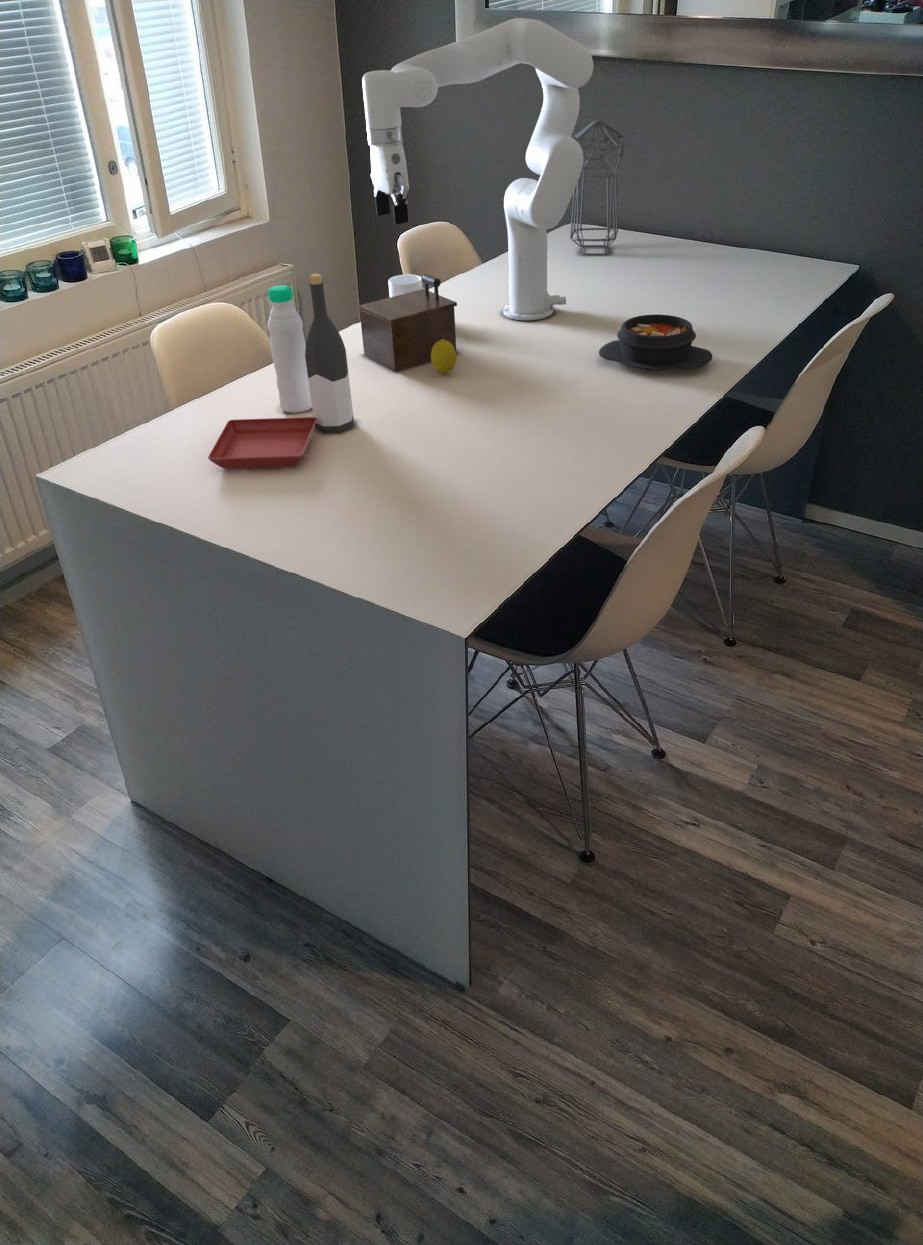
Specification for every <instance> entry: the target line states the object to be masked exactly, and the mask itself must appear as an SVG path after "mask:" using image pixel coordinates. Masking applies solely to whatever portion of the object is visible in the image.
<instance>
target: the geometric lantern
mask: <svg viewBox="0 0 923 1245" xmlns="http://www.w3.org/2000/svg"><path fill="white" fill-rule="evenodd" d="M599 130H600V132H601V134H602V138H603V139H601V140H600V139H599V138H600V137H599ZM590 131H591V134H590V137H589V138H588V137H586V136H587V134H589V132H590ZM606 135H607V136H608V137H607V136H606ZM593 137H594V138H593ZM571 138H573V139H575V140H576V141H577V142H578V143H579V144H580V143H582V144H583V145H585V146H581V148H582V150H586V152H587V156H586V155H585V154H584V153H583V159H585V162H583V167H582V175H581V174H580V177H579V179H578V182H577V184H576V187H575V189H574V192H573V194H572V197H573V198H572V207H571V208H572V209H571V220H570V235H569V240H570V241H572V242H573V243H575V244H576V245H577V246H578V247H579V255H582V256H607V255H609V254H610V246H611V245H612V244H613V243H614V241H616V239H617V237H618V234H619V233H618V232H619V215H618V214H619V212H618V174H617V173H618V168H619V166H620V163H621V159H622V157H623V156H624V155H623V154H624V152H625V148H626V145H625V139H626V136H624V135H623V134H621V133H620V132H619V131H617V130H615V128H613V127H611V126H610V125H609V124H606V123H605V122H604V121H603V120H600V119H596V120H595V119H594V121H592V122H590V123H589V124H588V125H587V126H585V127H584V128H582V130H580V131H579V132H578V133H576V134H575V135H573V136H571ZM620 138H621V139H620ZM609 140H611V141H610V143H609V144H608V141H609ZM585 141H588V143H587V142H585ZM592 142H595V146H592V145H591V144H592ZM600 143H605V144H604V147H600ZM613 144H614V145H613ZM618 148H619V151H618V154H617V155H616V158H615V161H614V164H613V165H612V164H611V163H610V161H609V158H608V157H607V155H609V154H610V153H612V152H614V151H615V150H616V149H617V150H618ZM590 150H592V152H591V154H590ZM606 150H608V151H606ZM596 151H597V157H593V156H594V153H595V152H596ZM600 152H602V153H603V154H601V155H600ZM603 157H605V160H606V161H607V163H608V165H609V166H606V165H605V163H604V161H603V159H602V158H603ZM597 160H599V161H600V163H601V166H602V167H601V166H599V167H597V166H596V167H587V166H588V165H589V163H590V162H591V161H592V162H593V161H597ZM616 163H617V164H616ZM608 169H610V170H611V173H609V171H608ZM586 170H604V171H605V173H606V175H600V174H599V175H588V174H587V175H586ZM580 178H582V183H581V184H582V185H581V186H582V187H581V202H580V180H581V179H580ZM585 178H606V226H607V227H582V226H583V214H584V195H585V181H586V179H585ZM610 178H611V180H610ZM610 182H611V183H610ZM612 226H613V227H612ZM579 231H580V236H581V237H580V236H579ZM583 231H607V233H606V237H605V238H584V234H583ZM612 231H613V234H612V235H611V236H610V233H611V232H612ZM574 234H575V235H576V238H574ZM585 242H603V244H585ZM587 248H588V249H589V248H593V249H594V248H600V249H601V248H603V249H604V253H585V249H587Z"/></svg>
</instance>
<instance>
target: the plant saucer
mask: <svg viewBox="0 0 923 1245" xmlns="http://www.w3.org/2000/svg"><path fill="white" fill-rule="evenodd" d="M316 421H317V418H316V417H314V416H308V417H307V416H305V417H276V418H275V417H271V418H270V417H269V418H244V419H229V420H227V421H226V424H225V426H224V427H223V429H222V430H221V433H220V435H219V436H218V438H217V440H216V441H215V443H214V445H213V447H212V449H211V450H210V453H209V454H208V456H207V459H208V460H209V461H210V462H211V463H213V464H214V465H216V466H218V467H220V468H222V469H250V468H251V469H252V468H253V469H257V468H288V467H297V466H298V465H299V464H300V463H301V461H302V460H303V457H304V455H305V453H306V450H307V447H308V444H309V442H310V439H311V436H312V434H313V431H314V429H315V424H316Z"/></svg>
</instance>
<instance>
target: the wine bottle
mask: <svg viewBox="0 0 923 1245" xmlns="http://www.w3.org/2000/svg"><path fill="white" fill-rule="evenodd" d="M309 279H310V282H309V288H310V295H311V302H312V309H313V319H312V322H311V326H310V328H309V331H308V334H307V337H306V341H305V344H306V349H305V360H306V367H307V374H308V381H309V388H310V395H311V402H312V407H311V408H312V415H313V416H312V417H316V418H317V421H316V424H315V426H314V429H315V430H317V431H319V432H320V433H322V434H341V433H344V432H347V431H348V430H350V429H351V430H352V428H353V425H354V408H353V401H352V391H351V383H350V376H349V366H348V359H347V358H348V356H347V351H346V350H347V349H346V346H345V343H344V340H343V338H342V336H341V334H340V332H339V330H338V328H337V327H336V326H335V324H334V323H333V321H332V320H331V318H330V317H329V316H328V311H327V304H326V295H325V288H324V285H325V284H324V281H323V280H322V274H321V273H312V274H310V275H309Z"/></svg>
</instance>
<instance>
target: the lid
mask: <svg viewBox="0 0 923 1245" xmlns="http://www.w3.org/2000/svg"><path fill="white" fill-rule="evenodd" d="M421 280H422V284H424V289H421V290H417V291H413V292H409V293H405V294H402V295H398V296H394V297H390V296H389V297H386V298H383V299H378V300H375V301H371V302H366V303H363V304H359V305H358V309H361V310H363V311H365V312H367V313H369V314H372V315H374V316H376V317H378V318H380V319H382V320H384V321H386V322H389V323H391V324H392V323H395V322H399V321H403V320H406V319H410V318H414V317H418V316H421V315H425V314H429V313H432V312H436V311H440V310H443V309H447V308H451V307H454V308H455V307H458V302H456V301H455V300H452V299H449V298H447V297H446V296H445V297H444V296H442V295H439V294H440V293H439V287H440V286H441V280H440V279H439V278H438V277H435V276H433V275H430V274H428V273H424V274H423V275H421ZM429 286H431V287H433V290H434V291H430V289H429V288H430V287H429Z"/></svg>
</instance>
